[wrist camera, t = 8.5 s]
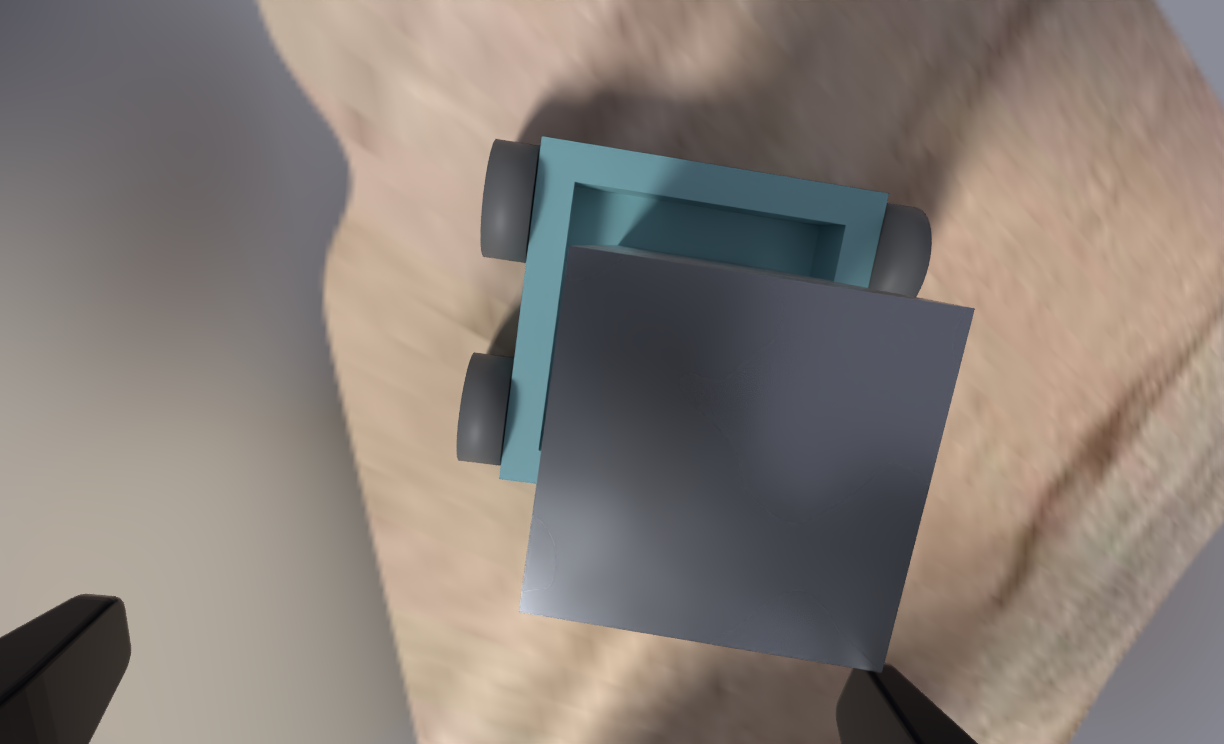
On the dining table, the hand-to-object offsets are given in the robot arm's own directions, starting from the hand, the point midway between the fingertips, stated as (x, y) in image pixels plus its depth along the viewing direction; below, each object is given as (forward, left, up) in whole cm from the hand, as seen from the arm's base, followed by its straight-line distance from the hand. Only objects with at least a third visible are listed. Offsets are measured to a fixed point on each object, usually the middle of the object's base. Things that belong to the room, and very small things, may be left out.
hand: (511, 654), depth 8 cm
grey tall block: (+3, -4, -13) cm, 14 cm away
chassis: (+3, -4, -14) cm, 14 cm away
